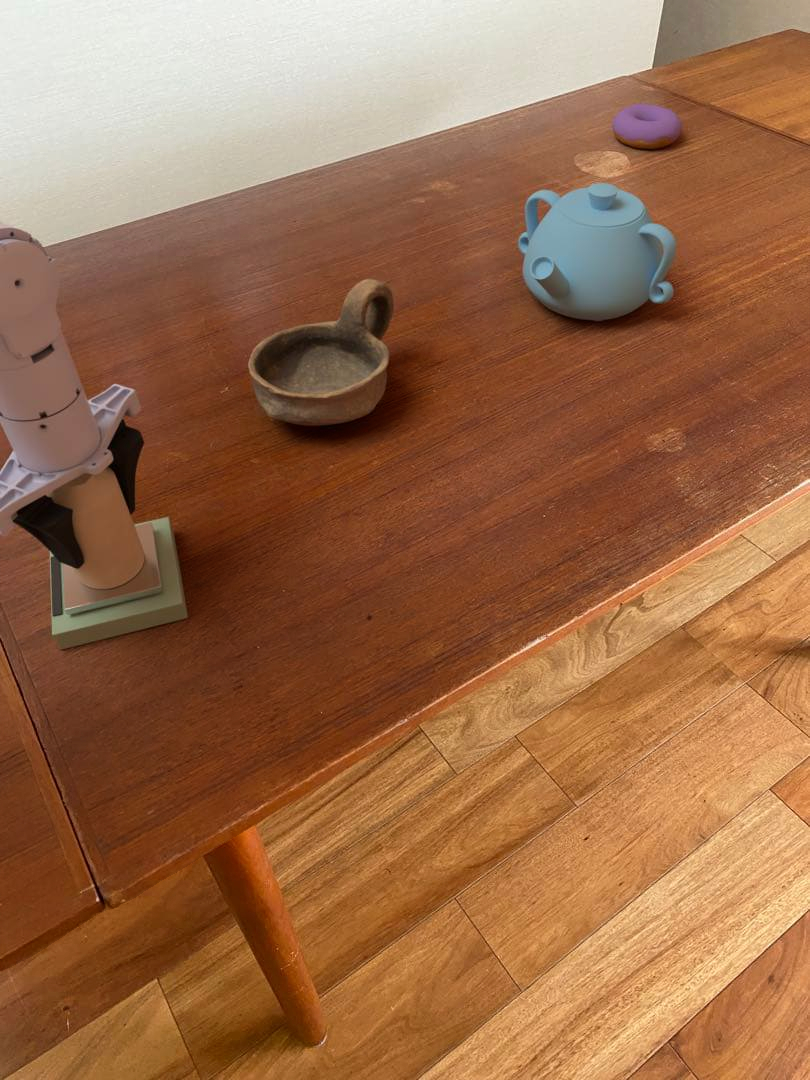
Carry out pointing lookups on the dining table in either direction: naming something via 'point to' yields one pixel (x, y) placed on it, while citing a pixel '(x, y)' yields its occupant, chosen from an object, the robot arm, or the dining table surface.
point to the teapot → (595, 253)
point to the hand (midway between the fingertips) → (97, 535)
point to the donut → (646, 126)
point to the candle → (102, 529)
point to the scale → (125, 613)
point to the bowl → (327, 363)
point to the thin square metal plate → (139, 586)
